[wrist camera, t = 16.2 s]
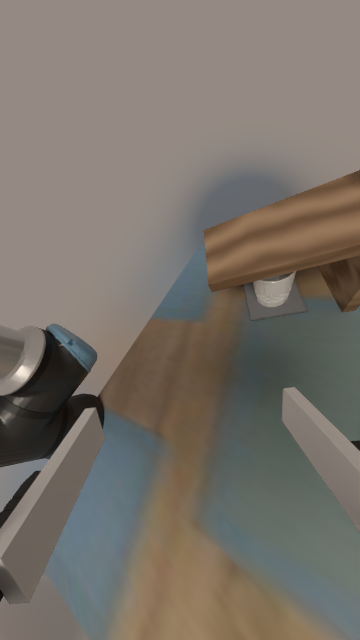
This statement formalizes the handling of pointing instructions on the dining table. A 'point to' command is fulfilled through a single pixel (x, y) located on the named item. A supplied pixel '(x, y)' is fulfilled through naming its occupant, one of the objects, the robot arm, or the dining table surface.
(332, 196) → the walnut shelf
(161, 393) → the dining table surface
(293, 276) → the white cup
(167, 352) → the dining table surface
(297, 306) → the felt pad
